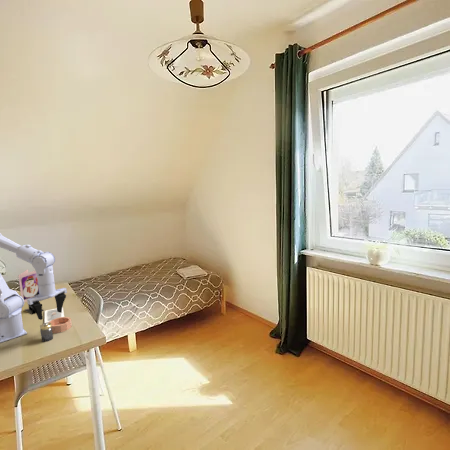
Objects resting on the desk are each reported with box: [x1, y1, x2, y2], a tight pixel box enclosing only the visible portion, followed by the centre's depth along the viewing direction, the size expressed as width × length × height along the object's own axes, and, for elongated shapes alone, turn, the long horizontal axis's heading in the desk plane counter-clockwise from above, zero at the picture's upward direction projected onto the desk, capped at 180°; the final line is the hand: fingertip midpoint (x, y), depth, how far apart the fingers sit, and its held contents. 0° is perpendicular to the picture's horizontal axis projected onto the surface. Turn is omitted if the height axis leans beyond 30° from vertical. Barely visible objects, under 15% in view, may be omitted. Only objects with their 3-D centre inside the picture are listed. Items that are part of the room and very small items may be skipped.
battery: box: [39, 322, 54, 343], centre depth 125 cm, size 4×4×7 cm
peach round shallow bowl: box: [48, 316, 73, 334], centre depth 135 cm, size 9×9×3 cm
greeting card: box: [18, 269, 39, 304], centre depth 168 cm, size 11×7×15 cm, turn 155°
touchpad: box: [44, 306, 65, 323], centre depth 147 cm, size 8×15×2 cm, turn 29°
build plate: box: [24, 303, 45, 315], centre depth 154 cm, size 12×7×5 cm, turn 52°
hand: (50, 315), depth 128 cm, fingers open, 7 cm apart
